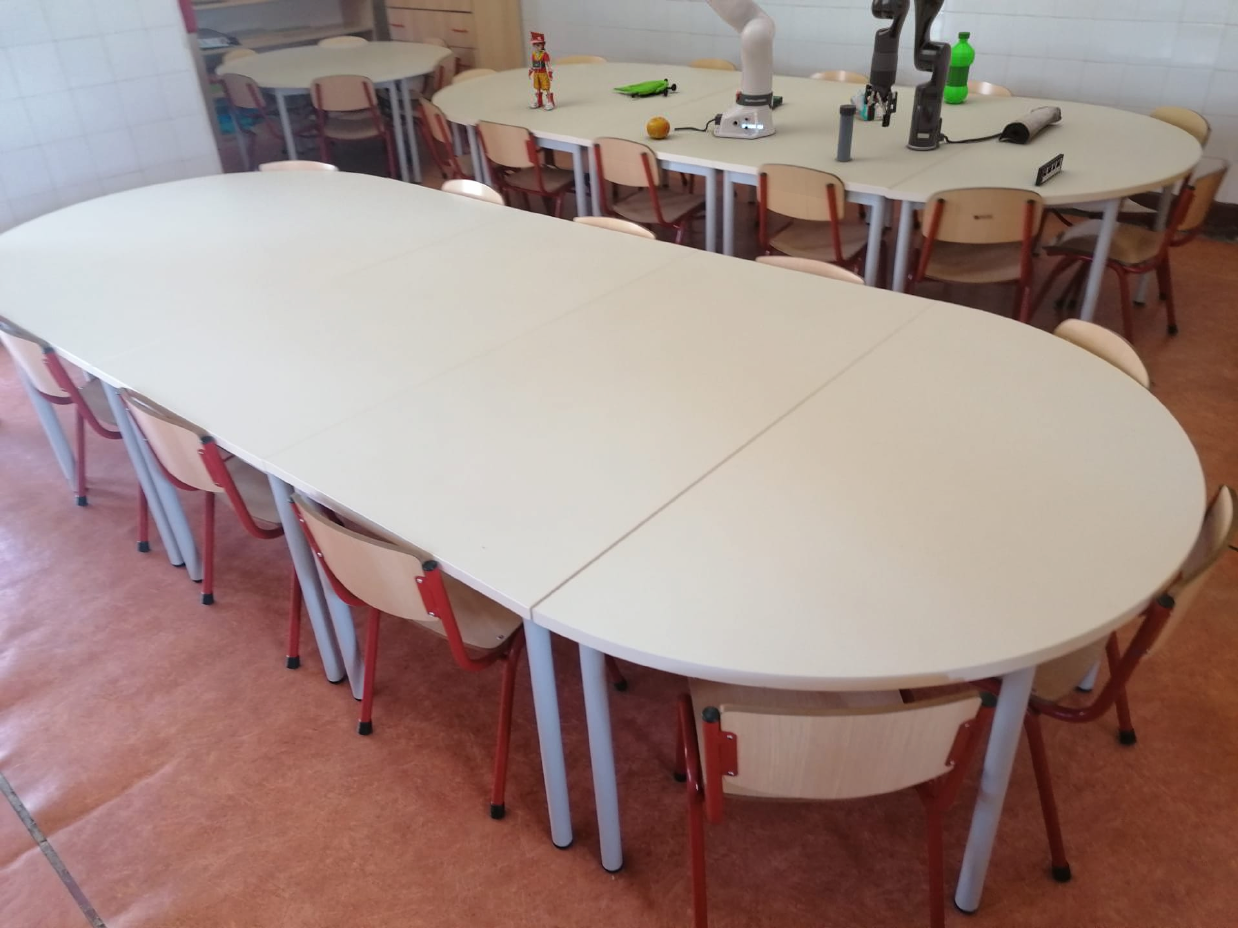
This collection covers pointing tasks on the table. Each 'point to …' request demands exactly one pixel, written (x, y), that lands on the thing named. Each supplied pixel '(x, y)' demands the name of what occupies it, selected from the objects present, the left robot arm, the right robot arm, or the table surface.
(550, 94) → the toy
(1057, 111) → the rolled mat
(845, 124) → the jar
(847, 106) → the lid
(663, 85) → the toy
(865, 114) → the anatomical model
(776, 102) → the disk drive
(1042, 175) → the midi keyboard
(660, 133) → the fruit
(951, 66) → the plastic bottle
